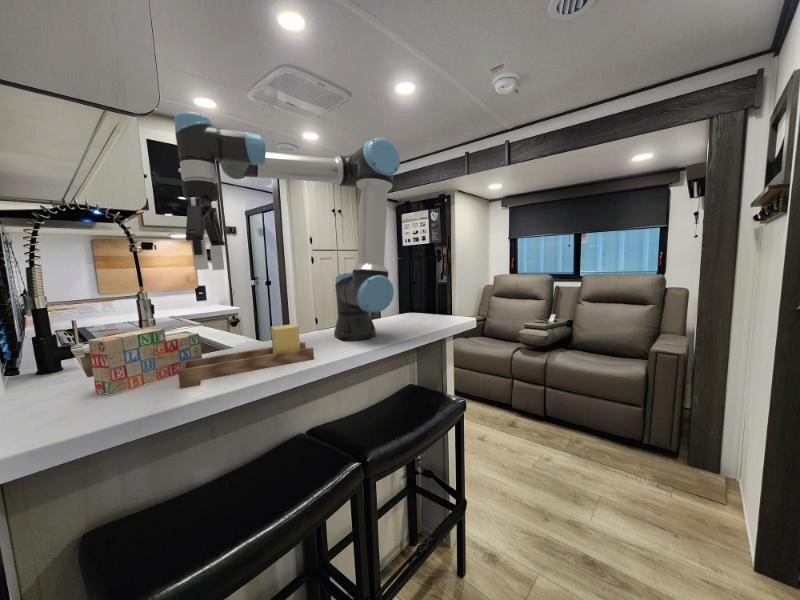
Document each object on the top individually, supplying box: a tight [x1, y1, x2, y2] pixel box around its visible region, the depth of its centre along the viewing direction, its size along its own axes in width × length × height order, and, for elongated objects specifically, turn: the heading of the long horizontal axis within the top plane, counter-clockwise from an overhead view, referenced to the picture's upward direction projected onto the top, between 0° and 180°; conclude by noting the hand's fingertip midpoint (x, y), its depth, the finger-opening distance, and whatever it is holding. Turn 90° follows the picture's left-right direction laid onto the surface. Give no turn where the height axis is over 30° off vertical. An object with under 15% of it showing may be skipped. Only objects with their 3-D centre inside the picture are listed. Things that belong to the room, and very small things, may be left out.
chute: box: [177, 341, 315, 389], centre depth 82 cm, size 30×9×4 cm, turn 121°
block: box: [270, 323, 301, 354], centre depth 87 cm, size 6×6×9 cm
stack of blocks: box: [87, 328, 203, 396], centre depth 79 cm, size 21×6×12 cm, turn 160°
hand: (210, 269), depth 81 cm, fingers open, 13 cm apart
